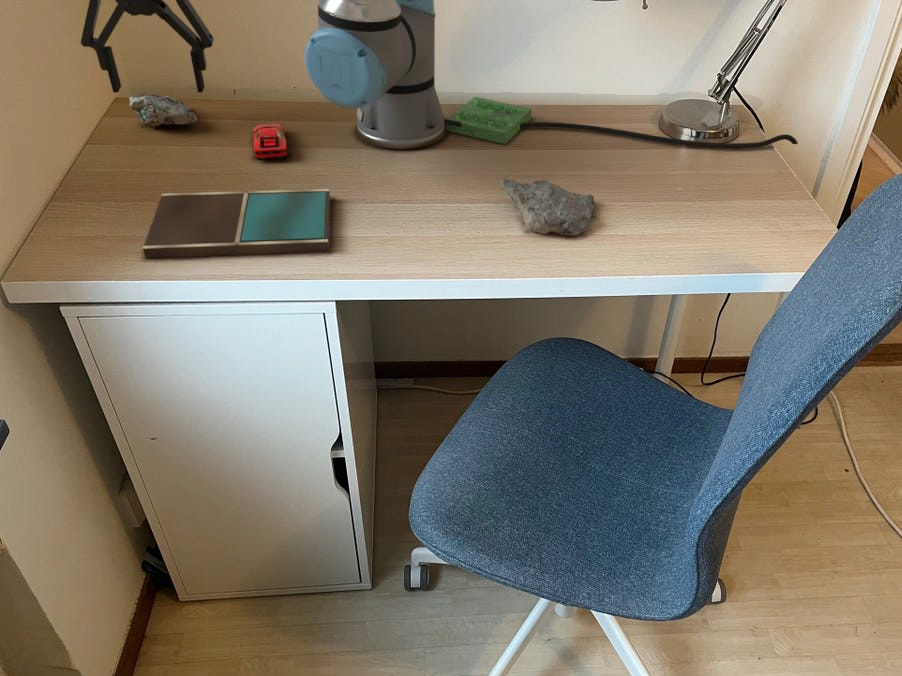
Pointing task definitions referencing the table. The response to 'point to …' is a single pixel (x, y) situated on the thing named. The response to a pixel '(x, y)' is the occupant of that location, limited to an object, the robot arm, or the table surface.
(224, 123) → the table surface
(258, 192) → the board
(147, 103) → the mineral specimen
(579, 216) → the rock
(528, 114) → the marbled green block
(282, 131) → the toy car
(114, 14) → the robot arm
